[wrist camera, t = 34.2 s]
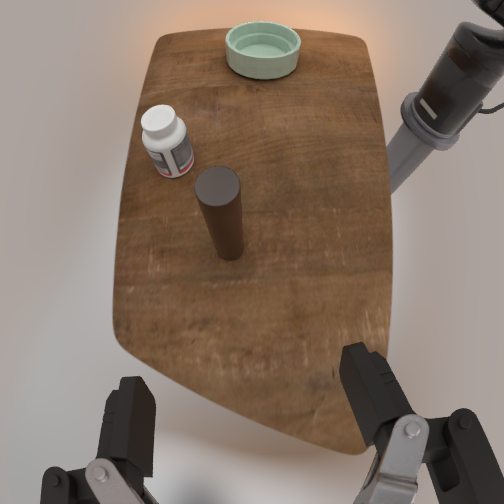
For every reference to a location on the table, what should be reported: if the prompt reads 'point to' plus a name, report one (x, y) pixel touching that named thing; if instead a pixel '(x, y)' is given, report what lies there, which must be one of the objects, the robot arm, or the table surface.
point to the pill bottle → (167, 141)
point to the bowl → (262, 49)
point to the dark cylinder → (222, 209)
